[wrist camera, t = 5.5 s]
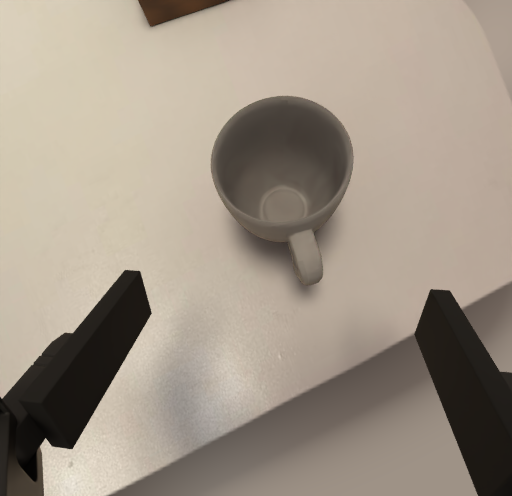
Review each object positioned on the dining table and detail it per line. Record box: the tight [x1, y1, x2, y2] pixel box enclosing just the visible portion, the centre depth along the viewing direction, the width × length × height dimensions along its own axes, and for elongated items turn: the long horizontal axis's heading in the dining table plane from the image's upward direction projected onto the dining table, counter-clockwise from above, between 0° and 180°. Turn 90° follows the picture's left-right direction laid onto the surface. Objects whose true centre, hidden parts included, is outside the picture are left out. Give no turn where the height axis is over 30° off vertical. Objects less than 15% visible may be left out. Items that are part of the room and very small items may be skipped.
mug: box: [211, 96, 353, 286], centre depth 23 cm, size 12×9×10 cm
